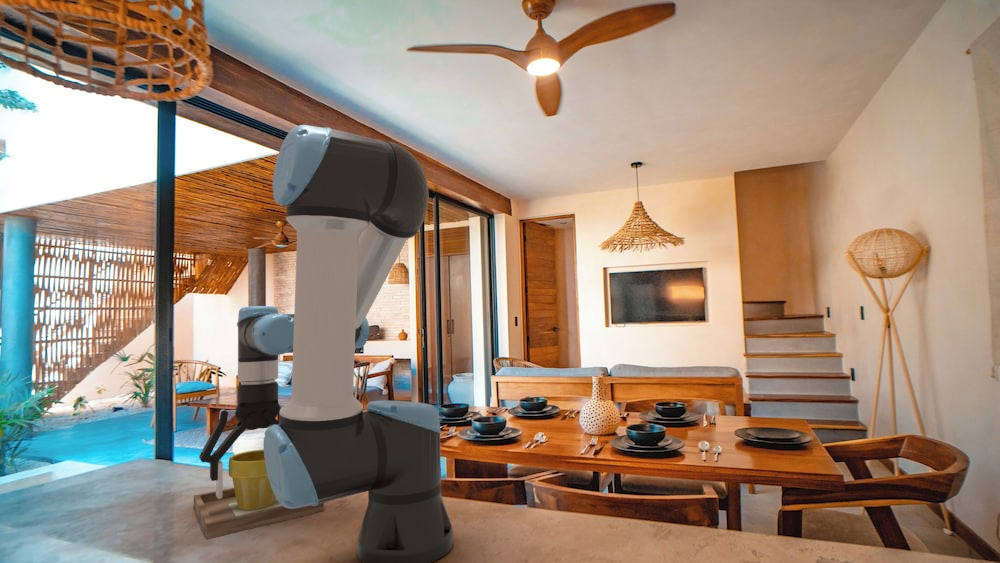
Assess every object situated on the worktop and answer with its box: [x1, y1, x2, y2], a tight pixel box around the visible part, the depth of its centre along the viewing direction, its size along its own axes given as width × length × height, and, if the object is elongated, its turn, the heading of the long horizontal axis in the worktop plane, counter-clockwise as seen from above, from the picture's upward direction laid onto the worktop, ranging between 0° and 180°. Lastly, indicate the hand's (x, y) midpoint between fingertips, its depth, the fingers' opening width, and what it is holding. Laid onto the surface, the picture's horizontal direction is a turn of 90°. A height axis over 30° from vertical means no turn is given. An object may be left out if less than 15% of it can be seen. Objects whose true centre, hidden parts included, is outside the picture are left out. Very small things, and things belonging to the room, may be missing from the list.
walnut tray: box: [193, 487, 325, 540], centre depth 102 cm, size 20×20×2 cm
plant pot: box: [228, 448, 276, 510], centre depth 102 cm, size 10×10×10 cm
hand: (257, 489), depth 102 cm, fingers open, 13 cm apart
